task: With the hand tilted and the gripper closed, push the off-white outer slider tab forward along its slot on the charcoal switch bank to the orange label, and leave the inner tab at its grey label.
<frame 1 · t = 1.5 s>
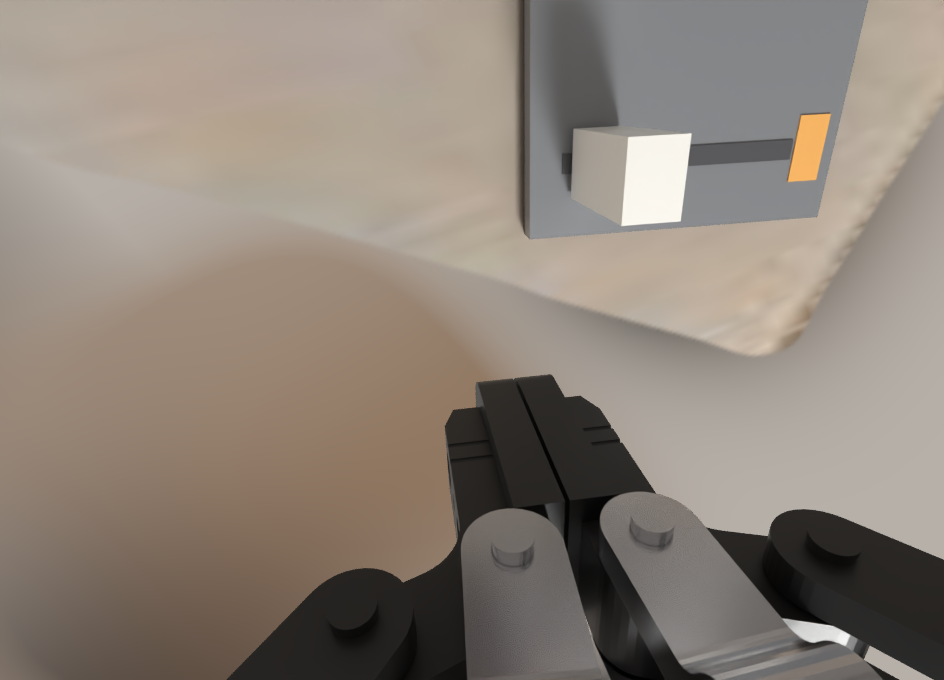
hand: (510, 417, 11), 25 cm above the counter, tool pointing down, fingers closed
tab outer: (622, 170, 28), point 6 cm above the counter, slide at 0.0 cm
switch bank: (687, 48, 31), on the counter
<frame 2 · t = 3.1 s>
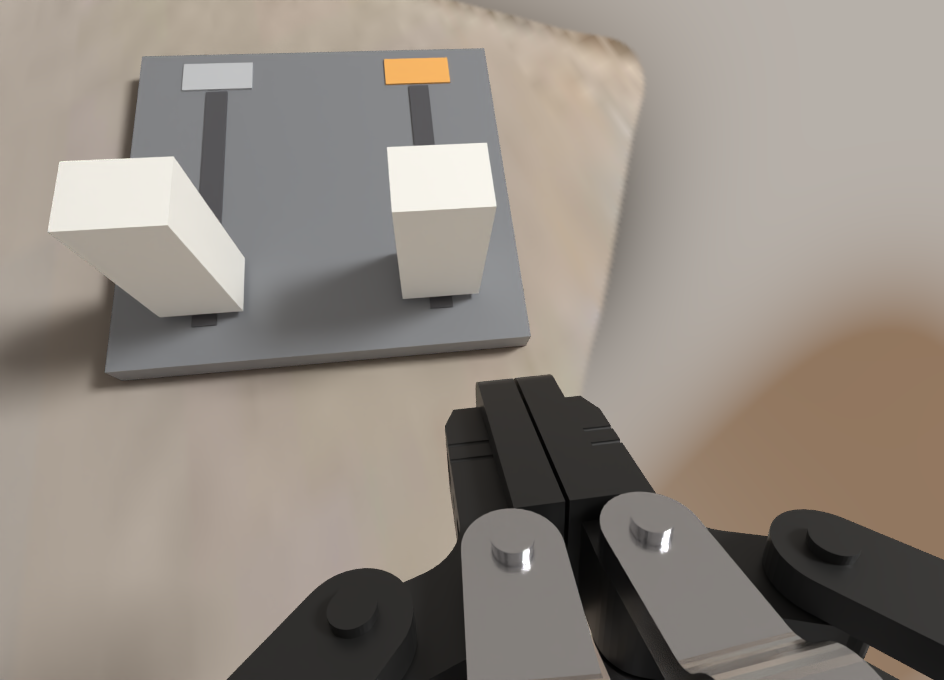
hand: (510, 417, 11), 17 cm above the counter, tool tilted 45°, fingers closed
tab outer: (439, 230, 24), point 6 cm above the counter, slide at 0.0 cm
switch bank: (327, 201, 31), on the counter
tab inner: (165, 247, 23), point 6 cm above the counter, slide at 0.0 cm
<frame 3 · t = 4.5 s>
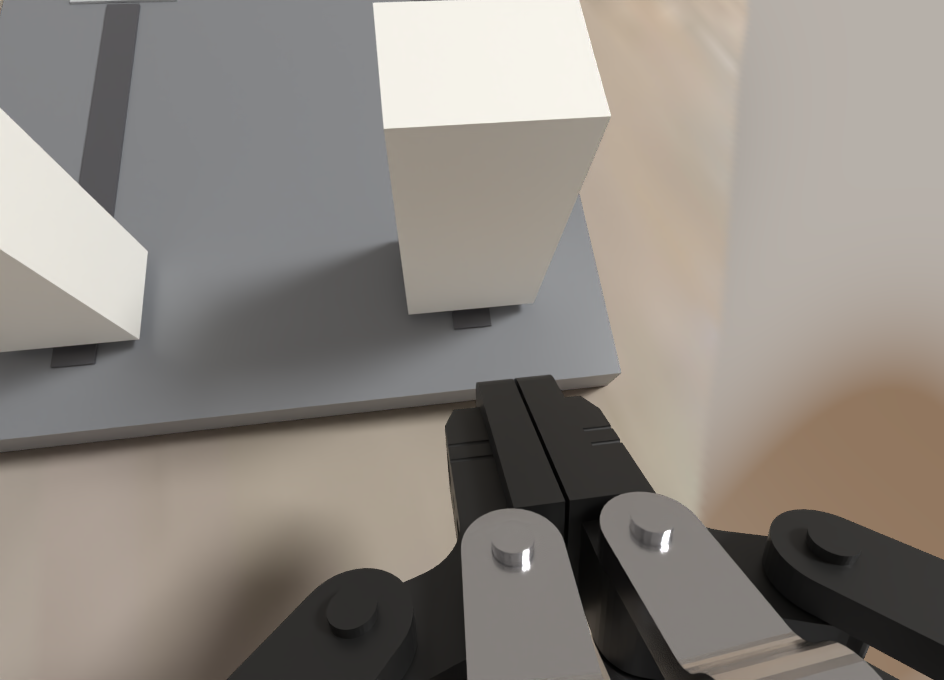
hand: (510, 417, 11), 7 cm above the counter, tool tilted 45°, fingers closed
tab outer: (473, 191, 13), point 6 cm above the counter, slide at 0.0 cm
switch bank: (291, 166, 20), on the counter
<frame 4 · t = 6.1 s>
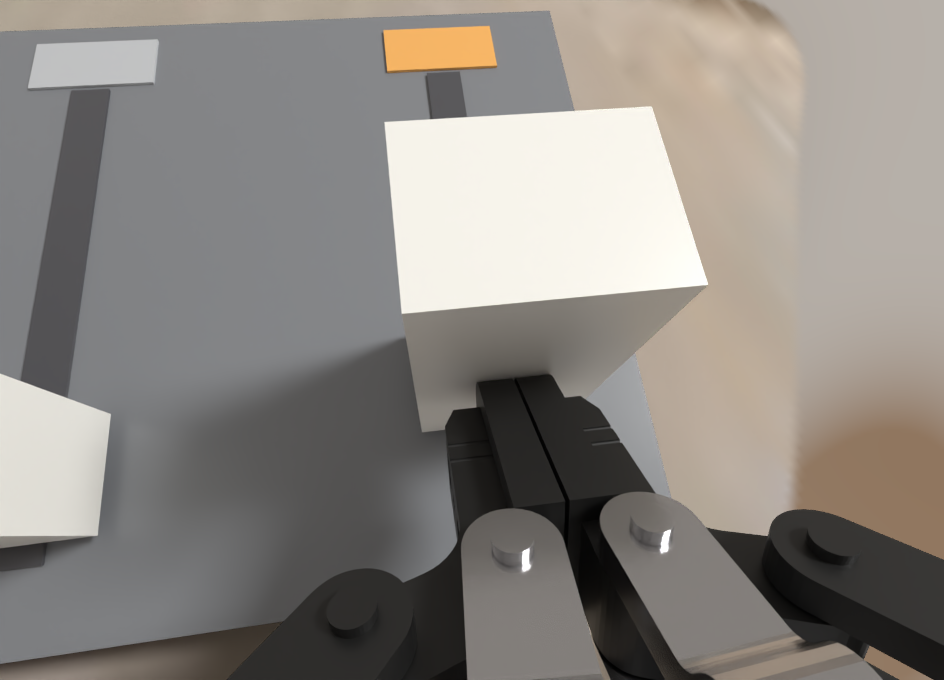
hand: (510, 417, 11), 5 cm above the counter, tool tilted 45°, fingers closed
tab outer: (504, 315, 11), point 6 cm above the counter, slide at 1.6 cm, touching gripper
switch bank: (286, 280, 17), on the counter
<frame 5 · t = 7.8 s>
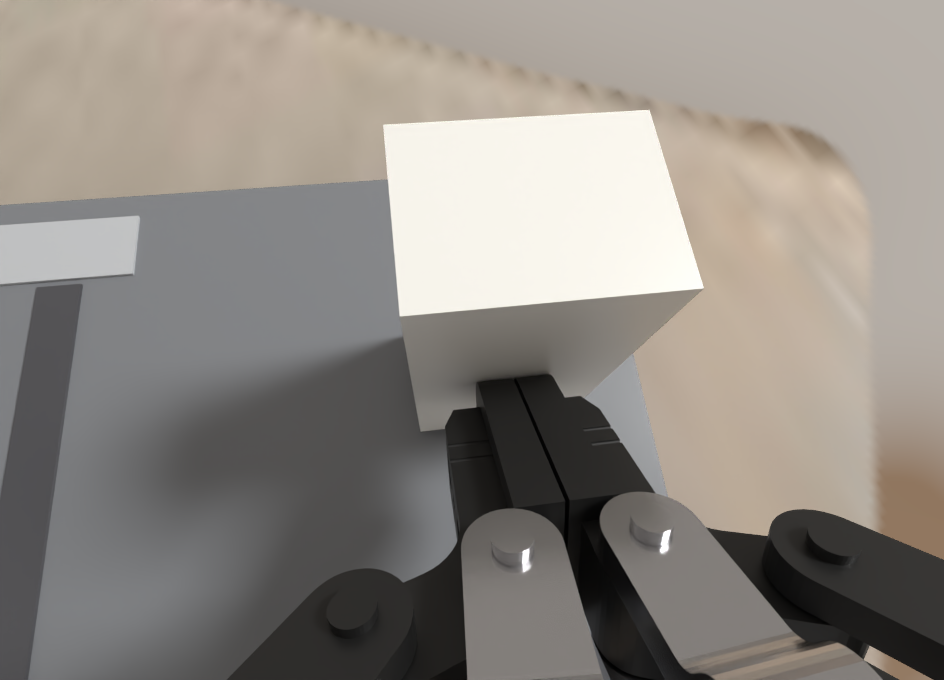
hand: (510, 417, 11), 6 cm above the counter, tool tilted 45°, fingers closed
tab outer: (502, 315, 11), point 6 cm above the counter, slide at 9.0 cm, touching gripper
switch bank: (287, 512, 15), on the counter
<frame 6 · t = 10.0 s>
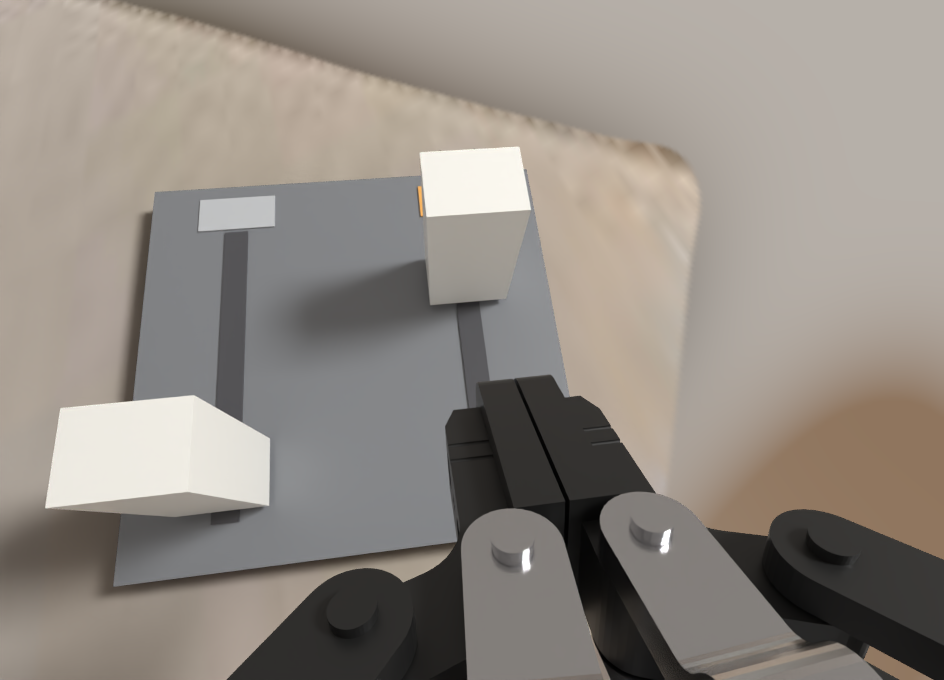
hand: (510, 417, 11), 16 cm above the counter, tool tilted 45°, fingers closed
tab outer: (469, 235, 24), point 6 cm above the counter, slide at 9.0 cm
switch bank: (358, 352, 28), on the counter
tab inner: (182, 465, 20), point 6 cm above the counter, slide at 0.0 cm
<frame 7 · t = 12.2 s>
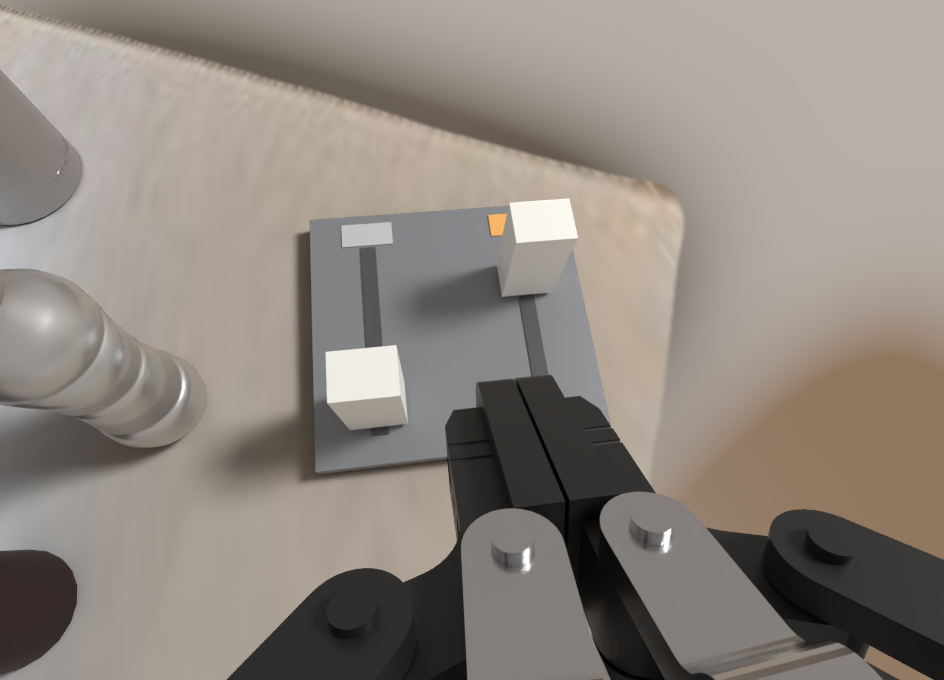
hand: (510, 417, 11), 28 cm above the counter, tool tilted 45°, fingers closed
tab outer: (532, 251, 37), point 6 cm above the counter, slide at 9.0 cm
vinegar: (25, 607, 33), on the counter
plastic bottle: (171, 408, 38), on the counter
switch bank: (452, 329, 41), on the counter
tab inner: (371, 391, 33), point 6 cm above the counter, slide at 0.0 cm
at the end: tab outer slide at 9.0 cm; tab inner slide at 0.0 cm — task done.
